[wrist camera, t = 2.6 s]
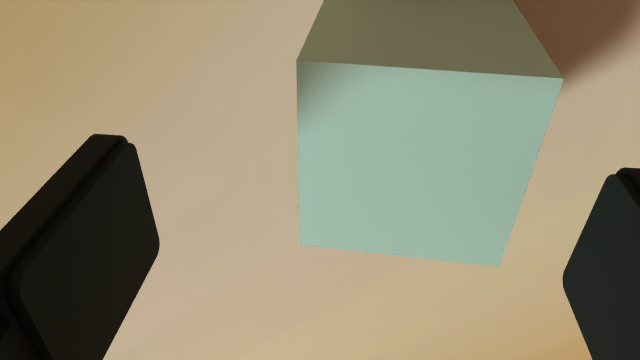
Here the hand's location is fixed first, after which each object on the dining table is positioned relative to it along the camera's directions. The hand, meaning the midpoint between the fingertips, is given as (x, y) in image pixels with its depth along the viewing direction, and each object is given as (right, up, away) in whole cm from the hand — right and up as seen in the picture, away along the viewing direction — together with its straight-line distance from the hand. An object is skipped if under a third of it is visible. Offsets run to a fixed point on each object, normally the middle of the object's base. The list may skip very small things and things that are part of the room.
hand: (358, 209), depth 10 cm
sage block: (+2, +4, +5) cm, 7 cm away
